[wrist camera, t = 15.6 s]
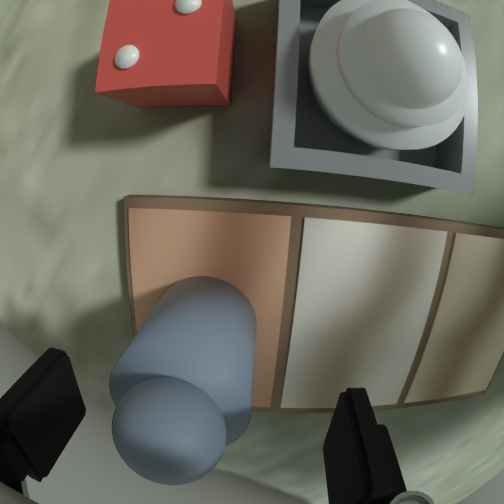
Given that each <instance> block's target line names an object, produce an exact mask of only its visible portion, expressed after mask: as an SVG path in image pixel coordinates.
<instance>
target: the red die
mask: <svg viewBox="0 0 504 504" xmlns="http://www.w3.org/2000/svg"><path fill="white" fill-rule="evenodd" d="M236 23H237V22H236V17H235V13H234V8H233V4H232V0H110V3H109V8H108V12H107V17H106V22H105V27H104V32H103V38H102V43H101V50H100V56H99V63H98V70H97V78H96V87H95V93H98V94H101V95H104V96H107V97H110V98H113V99H116V100H119V101H122V102H125V103H128V104H130V105H133V106H136V107H139V108H141V107H158V106H189V105H220V106H230V101H231V86H232V72H233V59H234V47H235V35H236Z"/></svg>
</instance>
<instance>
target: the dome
mask: <svg viewBox="0 0 504 504" xmlns="http://www.w3.org/2000/svg"><path fill="white" fill-rule="evenodd" d="M307 75H308V81H309V84H310V87H311V91H312V93H313V95H314V98H315V100H316V102H317V103H318V105H319V107H320V108H321V110H322V111H323V113H324V114H325V115H326V116H327V118H328V119H329V120H330V121H331V122H332V123H333V124H334V125H335V126H336V127H337V128H338V129H340V130H341V131H342V132H343V133H344V134H346V135H348V136H349V137H351V138H352V139H354V140H356V141H358V142H360V143H362V144H365V145H367V146H370V147H374V148H378V149H385V150H410V149H422V148H428V147H431V146H434V145H436V144H438V143H440V142H442V141H444V140H445V139H446V138H447V137H449V136H450V135H451V134H452V133H453V132H454V131H455V130H456V128H457V127H458V125H459V124H460V122H461V121H462V118H463V116H464V114H465V111H466V107H467V103H468V96H469V84H468V76H467V71H466V66H465V61H464V58H463V55H462V53H461V50H460V48H459V46H458V44H457V43H456V41H455V39H454V37H453V36H452V34H451V33H450V32H449V30H448V29H447V28H446V27H445V26H444V25H443V24H442V23H441V22H440V21H439V20H438V19H437V18H435V17H434V16H433V15H432V14H430V13H429V12H427V11H426V10H424V9H423V8H421V7H419V6H417V5H416V4H414V3H412V2H410V1H408V0H341V1H339V2H338V3H336V4H335V5H333V6H332V7H331V8H330V9H329V10H328V11H327V12H326V13H325V15H324V16H323V18H322V19H321V21H320V23H319V25H318V27H317V29H316V32H315V34H314V37H313V39H312V41H311V44H310V47H309V50H308V55H307Z"/></svg>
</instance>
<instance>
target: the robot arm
mask: <svg viewBox="0 0 504 504" xmlns="http://www.w3.org/2000/svg"><path fill="white" fill-rule="evenodd" d="M85 412H86V408H85V405H84V402H83V399H82V396H81V393H80V390H79V387H78V384H77V381H76V378H75V375H74V372H73V368H72V365H71V361H70V358H69V357H68V356H67V354H66V353H65V351H62V350H59V349H55V348H49V349H48V350H47V351H46V352H45V353H44V354H43V355H42V356H41V357H40V358H39V359H38V360H37V361H36V362H35V363H34V364H33V365H32V366H31V367H30V368H29V369H28V370H27V371H26V372H25V373H24V374H23V375H22V376H21V377H20V378H19V379H18V380H17V382H16V383H14V385H13V386H12V387H11V388H10V389H9V390H8V391H7V392H6V393H5V394H4V395H3V396H2V397H1V399H0V504H38V503H36V502H35V501H33V500H31V499H30V498H29V494H28V489H27V485H26V480H25V478H26V476H27V475H29V477H31V478H33V479H35V480H37V481H39V482H41V480H42V478H43V477H46V476H48V474H49V473H50V471H51V469H52V468H53V466H54V464H55V463H56V461H57V459H58V457H59V456H60V454H61V453H62V451H63V450H64V448H65V446H66V445H67V443H68V442H69V440H70V438H71V437H72V435H73V434H74V432H75V430H76V429H77V427H78V426H79V424H80V422H81V421H82V419H83V418H84V416H85ZM323 453H324V462H325V471H326V480H327V489H328V498H329V504H434V502H433V500H432V499H431V498H430V497H429V496H428V495H426V494H425V493H423V492H419V491H407V490H406V487H405V483H404V480H403V477H402V473H401V470H400V467H399V464H398V460H397V457H396V454H395V451H394V448H393V445H392V442H391V439H390V436H389V433H388V430H387V428H386V426H385V425H383V424H380V425H377V422H376V419H375V416H374V412H373V409H372V406H371V403H370V400H369V397H368V394H367V391H366V389H365V388H364V387H362V388H347V389H346V391H345V392H341V393H340V395H339V398H338V402H337V405H336V408H335V411H334V414H333V418H332V421H331V424H330V427H329V430H328V433H327V436H326V438H325V441H324V446H323Z"/></svg>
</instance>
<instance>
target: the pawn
mask: <svg viewBox="0 0 504 504" xmlns="http://www.w3.org/2000/svg"><path fill="white" fill-rule="evenodd" d="M256 324H257V323H256V316H255V312H254V310H253V307H252V305H251V303H250V302H249V300H248V299H247V298H246V296H245V295H244V294H243V293H242V292H241V291H240V290H239V289H237V288H236V287H235V286H233V285H231V284H230V283H228V282H226V281H223V280H221V279H218V278H214V277H209V276H194V277H189V278H185V279H183V280H180V281H178V282H176V283H175V284H173V285H172V286H171V287H170V288H169V289H168V290H167V291H166V292H165V293H164V295H163V296H162V297H161V299H160V300H159V302H158V303H157V304H156V306H155V307H154V309H153V310H152V312H151V313H150V315H149V316H148V317H147V319H146V320H145V322H144V323H143V325H142V326H141V328H140V329H139V330H138V332H137V333H136V335H135V336H134V338H133V339H132V341H131V342H130V344H129V345H128V347H127V348H126V350H125V351H124V353H123V354H122V356H121V357H120V359H119V360H118V362H117V363H116V365H115V366H114V368H113V370H112V372H111V375H110V382H109V387H110V393H111V396H112V399H113V402H114V404H115V406H116V409H115V411H114V415H113V419H112V434H113V440H114V443H115V446H116V449H117V451H118V452H119V454H120V456H121V458H122V459H123V460H124V461H125V463H126V464H127V465H128V466H129V467H130V468H131V469H132V470H134V471H135V472H136V473H137V474H139V475H140V476H142V477H144V478H146V479H148V480H151V481H153V482H156V483H160V484H166V485H181V484H186V483H190V482H193V481H196V480H198V479H200V478H202V477H204V476H205V475H206V474H208V473H209V472H210V471H211V470H212V469H213V468H214V467H215V466H216V465H217V463H218V462H219V460H220V459H221V457H222V454H223V452H224V449H225V445H228V444H230V443H232V442H233V441H235V440H236V439H238V438H239V437H240V436H241V435H242V434H243V433H244V432H245V430H246V429H247V427H248V425H249V422H250V418H251V407H252V391H253V375H254V359H255V343H256Z"/></svg>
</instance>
